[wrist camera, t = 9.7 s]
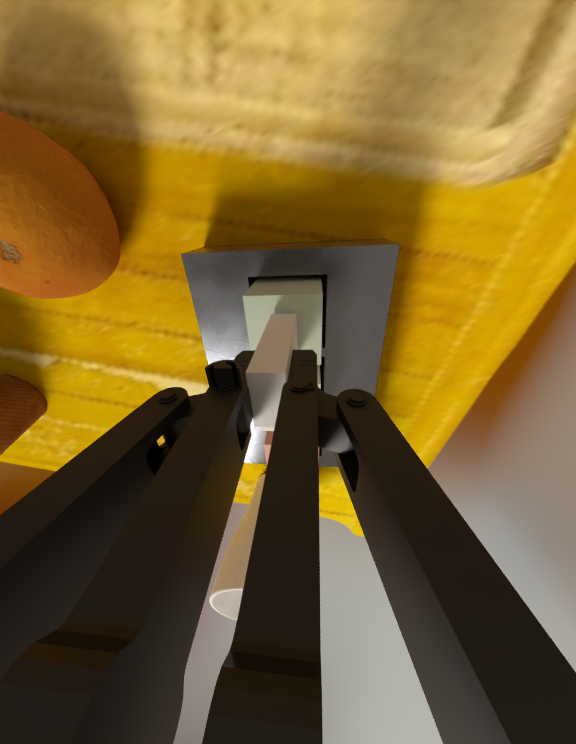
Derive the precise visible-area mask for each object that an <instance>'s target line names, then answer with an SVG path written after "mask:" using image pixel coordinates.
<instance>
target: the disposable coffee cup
mask: <svg viewBox="0 0 576 744" xmlns="http://www.w3.org/2000/svg"><path fill="white" fill-rule="evenodd" d="M46 410H47V405H46V402H45V400H44V398H43V397H42V396H41V394H40V393H39V392H38V391H37V390H36V389H34V388H33V387H32V386H30V385H29V384H28V383H26V382H24V381H22V380H20V379H17V378H15V377H11V376H5V375H1V376H0V455H1V454H2V453H3V452H4V451H5V450H6V449H7V448H8V447H9V446H10V445H12V444H13V443H14V442H15V441H16V440H17V439H18V438H19V437H20V436H21V435H22V434H23V433H24V432H25V431H26V430H27V429H28V428H29V427H31V426H32V425H33V424H34V423H35V422H36V421H37V420H38V419H39V418H40V417H41V416H42V415H43V414H44V413H45V412H46Z"/></svg>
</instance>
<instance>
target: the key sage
mask: <svg viewBox="0 0 576 744" xmlns="http://www.w3.org/2000/svg"><path fill="white" fill-rule="evenodd" d="M243 303H244V310H245V318H246V325H247V332H248V339H249V346H250V350H256V348H257V345H258V343H259V341H260V339H261V336H262V334H263V332H264V330H265V327H266V325H267V323H268V321H269V318H270V316H271V314H297V341H298V350H314V352H315V353H316V354H317V365H321V347H322V305H323V292H322V282H321V276H293V277H262V278H258V279H257V280H256V281H255V282H254V283H253V285H252V286H251V287H250V288H249V289H248V290H247V291H246V293H245V294H244V295H243Z"/></svg>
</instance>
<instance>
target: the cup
mask: <svg viewBox="0 0 576 744" xmlns="http://www.w3.org/2000/svg"><path fill="white" fill-rule="evenodd" d="M265 474H266V473H265ZM265 474H263V475H262V476H260V478H259V479H258V482H257V485H256V488H255V491H254V494H253V497H252V499H251V501H250V504H249V506H248V508H247V510H246V513H245V515H244V517H243V518H242V520H241V522H240V524H239V526H238V528H237V530H236V532H235V534H234V536H233V538H232V540H231V542H230V545H229V547H228V549H227V552H226V554H225V556H224V558H223V561H222V563H221V565H220V568H219V571H218V574H217V577H216V580H215V583H214V586H213V589H212V592H211V595H210V604H211V606H212V607H213V609H215V610H216V611H217V612H218V613H220V614H222V615H224V616H226V617H228V618H230V619H233V620H236V621H237V618H238V613H239V608H240V603H241V598H242V592H243V587H244V582H245V577H246V572H247V567H248V562H249V556H250V551H251V546H252V541H253V536H254V531H255V526H256V520H257V515H258V510H259V505H260V500H261V495H262V490H263V485H264V479H265Z"/></svg>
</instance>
